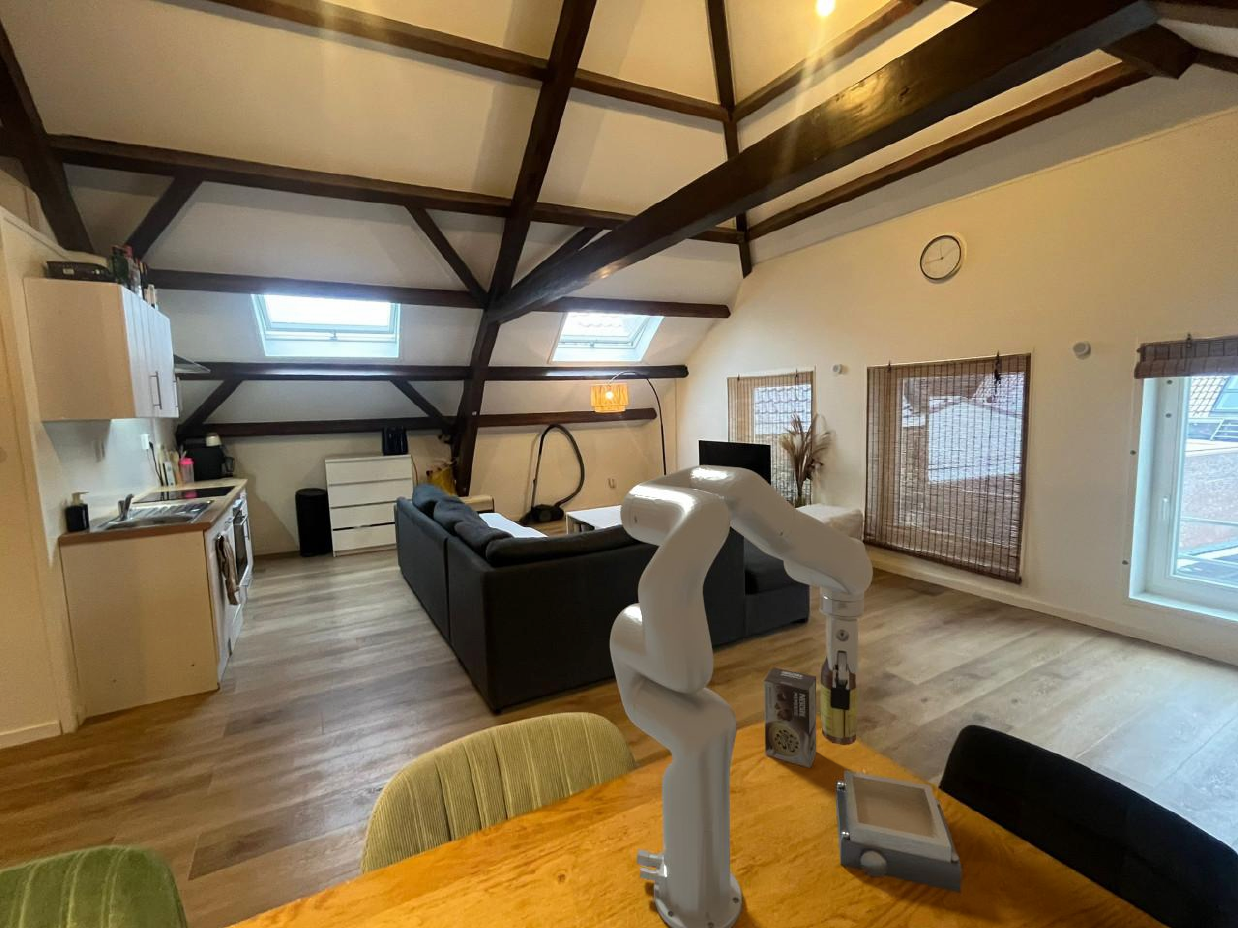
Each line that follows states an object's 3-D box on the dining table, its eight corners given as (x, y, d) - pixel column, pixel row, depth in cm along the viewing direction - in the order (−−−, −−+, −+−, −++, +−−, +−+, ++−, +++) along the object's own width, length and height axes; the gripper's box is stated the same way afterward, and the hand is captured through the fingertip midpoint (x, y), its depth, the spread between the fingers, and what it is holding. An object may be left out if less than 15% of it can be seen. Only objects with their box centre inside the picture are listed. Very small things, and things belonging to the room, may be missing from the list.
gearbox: (841, 870, 82) (841, 830, 81) (835, 801, 96) (836, 767, 95) (962, 898, 77) (964, 856, 76) (937, 821, 91) (939, 785, 90)
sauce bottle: (850, 728, 104) (853, 628, 102) (861, 748, 97) (865, 641, 96) (815, 726, 104) (817, 627, 103) (824, 746, 98) (827, 640, 96)
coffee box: (817, 751, 110) (817, 676, 109) (809, 769, 105) (810, 690, 103) (772, 737, 115) (772, 665, 113) (763, 754, 110) (763, 679, 108)
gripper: (869, 624, 89) (865, 727, 91) (859, 592, 106) (856, 680, 107) (820, 618, 92) (818, 719, 93) (818, 588, 108) (816, 674, 110)
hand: (838, 697), depth 100 cm, fingers closed on sauce bottle, 6 cm apart
